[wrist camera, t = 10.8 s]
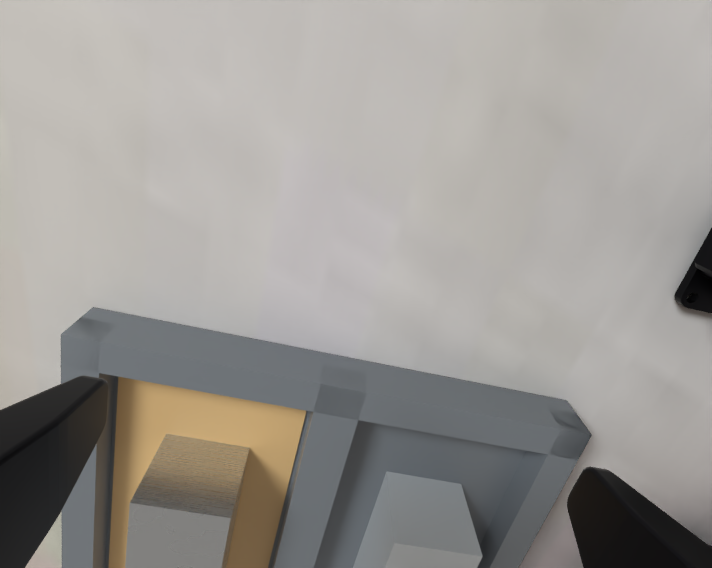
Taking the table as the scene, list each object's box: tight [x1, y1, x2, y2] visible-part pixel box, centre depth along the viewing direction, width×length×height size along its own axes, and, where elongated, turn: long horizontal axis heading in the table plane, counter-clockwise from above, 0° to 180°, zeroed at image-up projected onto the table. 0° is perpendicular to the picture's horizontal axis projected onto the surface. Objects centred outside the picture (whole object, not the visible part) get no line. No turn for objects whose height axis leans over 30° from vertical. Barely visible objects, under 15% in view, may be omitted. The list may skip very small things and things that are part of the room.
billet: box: [125, 434, 250, 568], centre depth 22 cm, size 4×10×4 cm, turn 166°
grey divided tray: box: [61, 307, 591, 568], centre depth 23 cm, size 23×21×5 cm
